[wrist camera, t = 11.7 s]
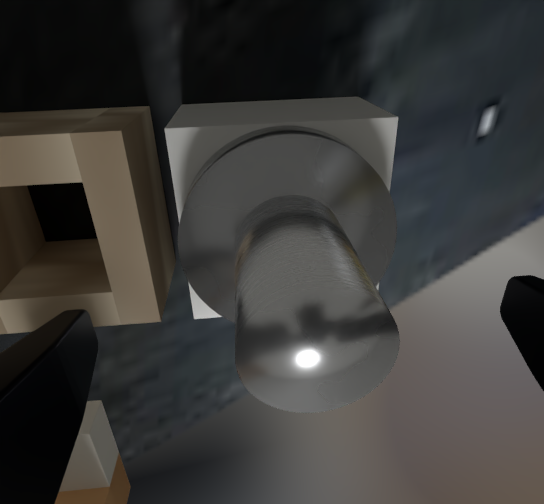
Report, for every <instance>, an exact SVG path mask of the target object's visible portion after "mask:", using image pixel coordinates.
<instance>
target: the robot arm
mask: <svg viewBox="0 0 544 504" xmlns="http://www.w3.org/2000/svg"><path fill="white" fill-rule="evenodd" d="M500 313H501V317H502V320H503V322H504V323H505V325H506V327H507V329H508V331H509V332H510V334H511V336H512V338H513V340H514V342H515V343H516V345H517V347H518V349H519V351H520V352H521V354H522V356H523V358H524V360H525V362H526V363H527V365H528V367H529V369H530V371H531V372H532V374H533V376H534V377H535V379H536V380H537V382H538V383H539V385H540V387H541V388H542V389H543V391H544V279H541V278H538V277H535V276H531V275H528V276H516V277H515V276H514V277H512V278H511V279H510V280H509V281H508V283H507V286H506V290H505V293H504V297H503V300H502V303H501V306H500ZM97 353H98V340H97V336H96V333H95V330H94V327H93V324H92V320H91V317H90V314H89V313H88V311H87V310H85V309H76V310H66V311H63V312H62V313H60V314H59V315H57V316H56V317H54V318H53V319H51V320H50V321H48V322H47V323H45V324H44V325H42V326H41V327H39V328H38V329H36V330H35V331H33V332H32V333H30V334H29V335H27V336H25V337H24V338H22V339H21V340H19V341H18V342H16V343H15V344H13V345H12V346H10V347H9V348H7V349H6V350H4V351H3V352H1V353H0V504H55V501H56V498H57V495H58V492H59V490H60V487H61V484H62V481H63V478H64V475H65V472H66V469H67V466H68V463H69V460H70V457H71V454H72V451H73V448H74V445H75V442H76V439H77V436H78V433H79V430H80V427H81V424H82V421H83V417H84V413H85V409H86V404H87V400H88V395H89V390H90V386H91V381H92V376H93V371H94V367H95V362H96V357H97Z"/></svg>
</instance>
